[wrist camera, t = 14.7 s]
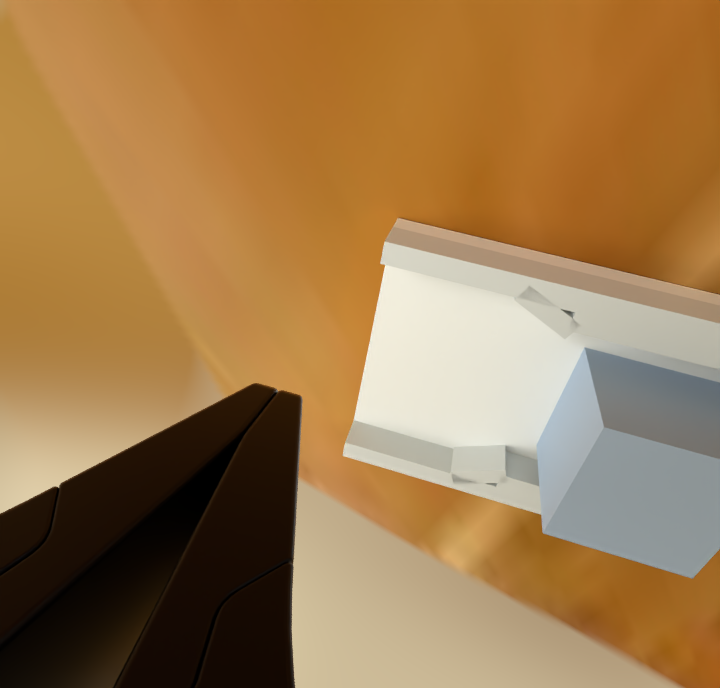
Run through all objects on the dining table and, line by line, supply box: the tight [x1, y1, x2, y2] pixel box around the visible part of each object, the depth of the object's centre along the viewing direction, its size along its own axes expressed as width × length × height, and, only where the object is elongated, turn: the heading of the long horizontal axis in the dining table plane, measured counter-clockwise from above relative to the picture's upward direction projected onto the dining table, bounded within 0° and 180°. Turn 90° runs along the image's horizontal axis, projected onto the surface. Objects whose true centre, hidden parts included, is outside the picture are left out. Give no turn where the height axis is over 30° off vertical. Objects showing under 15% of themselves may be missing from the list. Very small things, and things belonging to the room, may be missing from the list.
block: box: [536, 347, 720, 579], centre depth 18 cm, size 5×5×4 cm
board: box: [343, 218, 720, 514], centre depth 20 cm, size 14×10×2 cm
